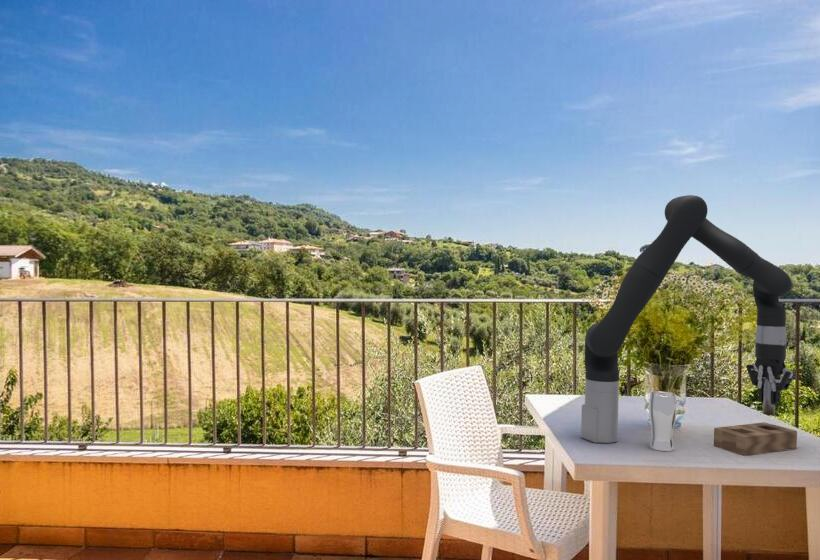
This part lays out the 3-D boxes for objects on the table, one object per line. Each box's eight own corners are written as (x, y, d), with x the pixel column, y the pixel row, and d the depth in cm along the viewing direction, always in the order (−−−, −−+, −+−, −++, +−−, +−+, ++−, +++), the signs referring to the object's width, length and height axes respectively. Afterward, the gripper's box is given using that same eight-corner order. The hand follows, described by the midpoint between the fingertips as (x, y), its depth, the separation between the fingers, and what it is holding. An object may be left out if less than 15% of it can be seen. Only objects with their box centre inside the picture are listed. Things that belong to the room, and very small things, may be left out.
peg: (770, 415, 175) (770, 379, 175) (760, 413, 177) (761, 377, 177) (777, 414, 176) (778, 379, 176) (767, 412, 179) (768, 377, 178)
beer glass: (652, 443, 177) (654, 390, 177) (678, 448, 173) (680, 393, 172) (644, 448, 172) (645, 393, 171) (670, 453, 167) (672, 397, 167)
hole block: (745, 455, 166) (745, 437, 166) (713, 445, 176) (714, 427, 176) (796, 448, 174) (797, 430, 174) (763, 439, 183) (764, 422, 183)
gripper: (739, 339, 181) (737, 399, 182) (784, 345, 168) (783, 409, 169) (757, 338, 184) (756, 397, 185) (803, 344, 171) (802, 407, 172)
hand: (769, 402), depth 177 cm, fingers closed on peg, 3 cm apart
